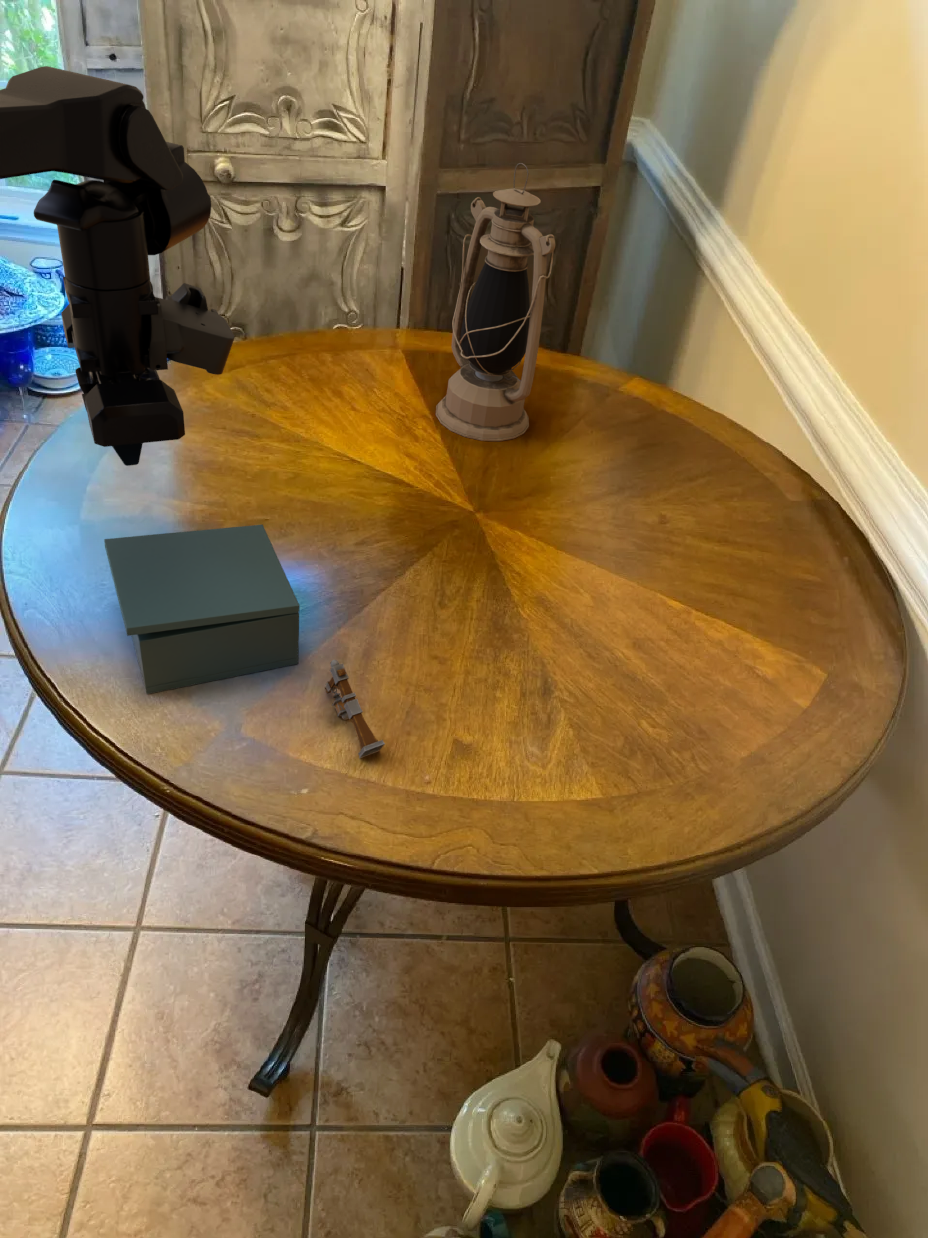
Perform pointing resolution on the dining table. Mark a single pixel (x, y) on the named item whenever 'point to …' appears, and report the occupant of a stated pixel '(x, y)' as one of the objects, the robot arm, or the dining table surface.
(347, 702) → the toy rocket launcher
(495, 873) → the dining table surface
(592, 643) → the dining table surface
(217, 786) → the dining table surface
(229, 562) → the lid
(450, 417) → the lantern
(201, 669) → the chest
